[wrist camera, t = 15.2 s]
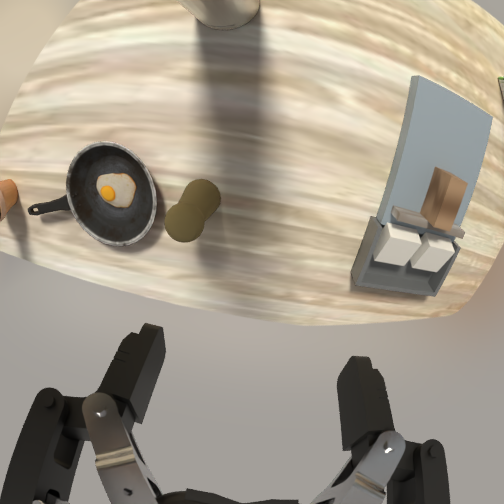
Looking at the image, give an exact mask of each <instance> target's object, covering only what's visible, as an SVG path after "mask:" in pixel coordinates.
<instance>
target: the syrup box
mask: <svg viewBox="0 0 504 504" xmlns="http://www.w3.org/2000/svg"><path fill="white" fill-rule="evenodd" d="M498 79H499V83H500V87H501V91H502V95H503V99H504V76H503V77H498Z"/></svg>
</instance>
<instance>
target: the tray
mask: <svg viewBox="0 0 504 504" xmlns="http://www.w3.org/2000/svg"><path fill="white" fill-rule="evenodd" d="M384 226H385V225H383V224H380V222H379V221H378V219H377V218H376V217H372V216H371V217H370V220H369V223H368V226H367V229H366V232H365V234H364V237H363V240H362V243H361V246H360V248H359V251H358V254H357V256H356V259H355V262H354V264H353V267H352V269H351V274H352V277H353V280H354V283H355V285H356V286H363V287H370V288H377V289H384V290H391V291H398V292H405V293H412V294H419V295H427V296H434V297H435V296H436V294H437V293H438V291H439V289H440V287H441V286H442V284H443V282H444V280H445V278H446V276H447V274H448V272H449V271H450V269H451V267H452V265H453V263H454V261H455V259H456V257H457V254H458V252H459V250H460V246H459V245H458V244H457V243H456V242H455V241H454V242H451V243H452V245H453V248H454V251H455V253H454V254H453V255H452V256H451V257H450V258H449V260H448V261H447V262H446V263H445V264H444V265H443V266H442V267H441V268H440V269H439V270H438V271H437V272H432V271H427V270H422V269H417V268H412V265H411V261H410V259H409V261H408V262H407V263H406V264H405V265H404V266H401V265H395V264H390V263H384V262H379V261H374V256H373V252H374V250H375V247H376V245H377V242H378V240H379V237H380V234H381V231H382V230H383V228H384ZM418 234H419V237H420V239H421V237H422V236H423V234H420V233H418Z"/></svg>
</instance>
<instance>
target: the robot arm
mask: <svg viewBox="0 0 504 504" xmlns="http://www.w3.org/2000/svg"><path fill="white" fill-rule="evenodd" d="M176 1H177V2H178V3H180V4H181V5H182V6H183V7H184V8H186V9H187V10H188V11H189V12H190V13H191V14H193V15H194V16H195V17H196V18H197V19H198V20H200V21H201V22H202V23H203V24H204V25H206V26H208V27H210V28H213V29H218V30H229V29H234V28H238V27H240V26H243V25H244V24H246V23H248V22H249V21H250V20H251V19H252V18H253V17H254V16H255V15H256V13H257V11H258V9H259V4H260V1H259V0H176ZM165 353H166V348H165V340H164V332H163V328H162V327H160V326H156V325H151V324H148V323H145V324H144V325H143V327H142V329H141V331H140V333H139V334H137V333H133V332H131V333H130V334H129V335H128V336H127V337H126V338H124V339H123V340H122V342H121V344H120V346H119V348H118V351H117V352H116V354H115V356H114V359H113V360H112V362H111V364H110V366H109V368H108V370H107V372H106V374H105V376H104V378H103V381H102V383H101V385H100V387H99V388H98V390H97V391H96V392H95V393H93V394H91V395H89V396H88V397H69V396H62V394H61V393H60V392H59V391H58V390H56V389H54V388H44V389H42V390H41V391H40V392H39V393H38V394H37V396H36V398H35V400H34V402H33V404H32V406H31V409H30V411H29V413H28V416H27V418H26V420H25V423H24V425H23V428H22V431H21V433H20V436H19V438H18V441H17V444H16V447H15V450H14V452H13V456H12V458H11V461H10V464H9V468H8V471H7V474H6V478H5V482H4V485H3V490H2V493H1V498H0V504H70V503H68V499H69V495H70V491H71V487H72V483H73V479H74V476H75V471H76V468H77V465H78V461H79V458H80V454H81V451H82V448H83V444H84V441H91V442H92V445H93V448H94V451H95V454H96V460H95V464H96V468H97V471H98V474H99V476H100V479H101V481H102V484H103V486H104V488H105V491H106V493H107V495H108V498H109V500H110V502H111V504H299V503H298V500H276V499H271V500H266V501H259V502H251V503H239V502H236V501H233V500H231V499H228V498H225V497H222V496H219V495H217V494H214V493H208V492H203V491H197V490H193V489H188V488H187V490H186V491H179V492H171V493H167V494H164V495H163V493H162V491H161V489H160V487H159V486H158V484H157V482H156V480H155V478H154V477H153V475H152V473H151V471H150V470H149V468H148V466H147V464H146V462H145V460H144V458H143V456H142V454H141V451H140V449H139V447H138V445H137V442H136V440H135V438H134V435H133V433H132V428H133V425H134V422H137V423H140V424H142V422H143V419H144V416H145V413H146V410H147V407H148V404H149V401H150V398H151V396H152V392H153V390H154V387H155V384H156V382H157V379H158V376H159V373H160V370H161V368H162V365H163V362H164V358H165ZM337 392H338V401H339V411H340V421H341V432H342V445H343V451H350V450H351V453H352V456H351V457H350V458H349V459H348V461H347V462H346V463H345V465H344V466H343V467H342V469H341V470H340V472H339V473H338V474H337V476H336V477H335V478H334V479H333V481H332V482H331V483H330V484H329V486H328V487H327V488H326V489H325V490H324V491H323V492H321V493H320V494H319V495H318V496H317V497H316V498H315V499H314V500H313V501H312V502H311V503H310V504H381V503H382V502H383V500H384V498H385V495H386V493H385V492H384V488H385V486H386V485H387V504H450V494H449V483H448V473H447V465H446V458H445V452H444V448H443V446H442V444H441V443H440V442H439V441H437V440H434V439H430V440H428V441H426V442H425V443H423V444H420V443H415V442H410V441H406V440H404V438H403V437H402V436H401V435H400V434H399V433H398V432H396V431H395V428H394V425H393V419H392V414H391V409H390V404H389V400H388V398H387V397H388V395H387V391H386V387H385V382H384V378H383V377H382V375H381V374H380V372H379V371H378V369H373V368H372V364H371V360H370V358H369V357H363V356H362V357H361V356H352V357H351V358H350V359H349V361H348V362H347V364H346V365H345V367H344V368H343V370H342V372H341V373H340V375H339V377H338V381H337Z"/></svg>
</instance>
